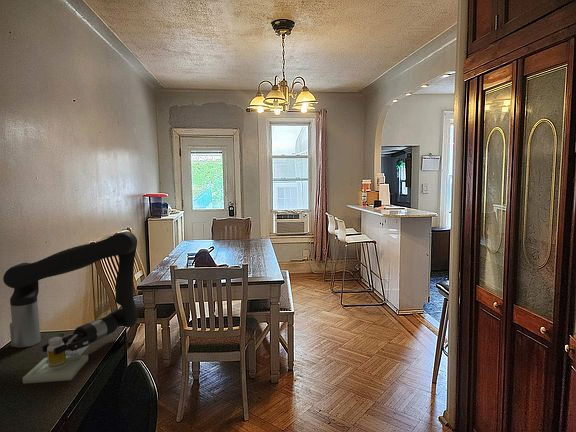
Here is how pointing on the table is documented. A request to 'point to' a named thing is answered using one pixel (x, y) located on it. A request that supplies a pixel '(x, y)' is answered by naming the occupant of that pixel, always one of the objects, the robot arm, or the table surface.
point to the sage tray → (55, 370)
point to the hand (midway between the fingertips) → (49, 350)
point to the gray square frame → (77, 352)
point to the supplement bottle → (53, 359)
